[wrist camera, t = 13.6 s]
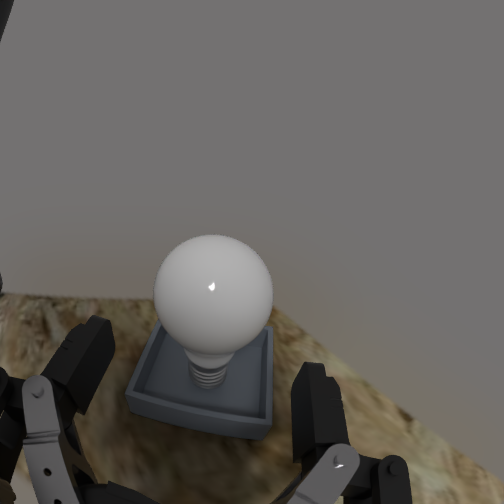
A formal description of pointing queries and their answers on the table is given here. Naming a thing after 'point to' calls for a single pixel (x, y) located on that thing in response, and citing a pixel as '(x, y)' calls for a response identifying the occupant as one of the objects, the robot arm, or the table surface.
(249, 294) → the lightbulb
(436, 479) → the table surface
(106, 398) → the table surface
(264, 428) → the walled box
